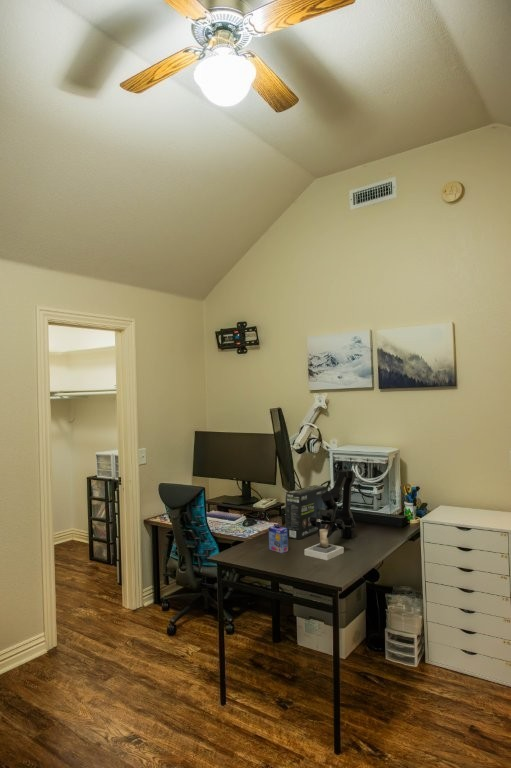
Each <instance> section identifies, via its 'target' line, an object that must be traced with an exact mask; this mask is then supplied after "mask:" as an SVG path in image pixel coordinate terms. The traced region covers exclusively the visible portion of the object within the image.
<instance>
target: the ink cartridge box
mask: <svg viewBox="0 0 511 768" xmlns="http://www.w3.org/2000/svg"><path fill="white" fill-rule="evenodd" d="M288 539H289V537H288V531H287V528H286V527H283V526H282V527H281V526H280V525H279V524H278V523H273V525H272V526H269V527H268V550H270V551H273V552H276V553H280V554H284V553H287V552H289V540H288Z"/></svg>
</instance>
